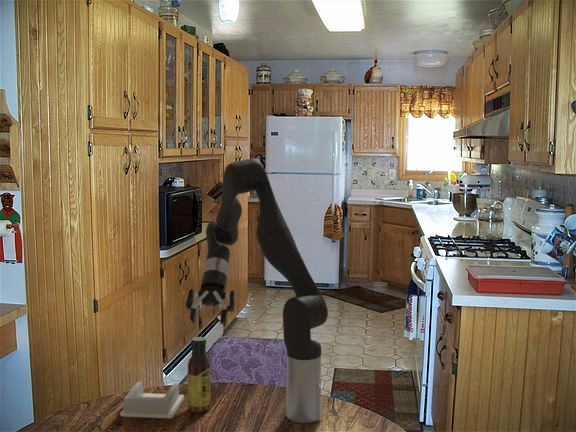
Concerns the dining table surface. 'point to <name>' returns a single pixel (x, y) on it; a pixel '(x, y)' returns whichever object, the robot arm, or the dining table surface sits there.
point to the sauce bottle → (198, 377)
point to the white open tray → (151, 403)
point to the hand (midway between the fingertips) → (207, 322)
